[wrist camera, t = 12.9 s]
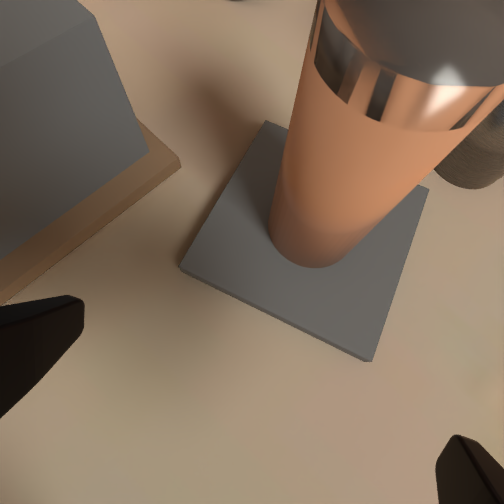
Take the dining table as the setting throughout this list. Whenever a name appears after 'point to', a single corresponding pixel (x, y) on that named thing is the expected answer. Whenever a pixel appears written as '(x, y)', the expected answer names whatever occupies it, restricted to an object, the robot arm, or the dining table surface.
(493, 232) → the dining table surface
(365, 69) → the cylinder
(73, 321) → the robot arm
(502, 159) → the cylinder
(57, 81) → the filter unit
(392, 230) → the mat
